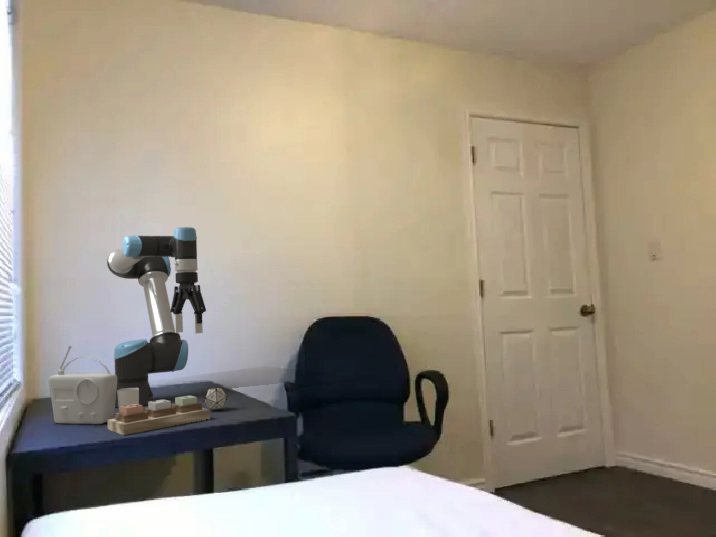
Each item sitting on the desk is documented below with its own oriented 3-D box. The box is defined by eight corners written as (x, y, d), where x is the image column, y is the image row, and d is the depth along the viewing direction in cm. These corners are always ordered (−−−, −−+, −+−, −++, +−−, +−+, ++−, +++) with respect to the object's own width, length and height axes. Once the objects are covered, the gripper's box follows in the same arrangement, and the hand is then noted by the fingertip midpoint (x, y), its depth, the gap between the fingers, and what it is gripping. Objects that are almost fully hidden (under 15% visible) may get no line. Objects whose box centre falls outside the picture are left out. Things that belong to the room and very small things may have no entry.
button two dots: (148, 409, 203) (148, 401, 203) (163, 407, 207) (163, 399, 207) (155, 411, 200) (155, 403, 200) (170, 409, 203) (170, 400, 203)
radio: (45, 424, 210) (43, 346, 210) (63, 419, 218) (61, 344, 218) (103, 426, 204) (101, 345, 205) (120, 420, 212) (118, 343, 213)
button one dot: (175, 405, 209) (175, 397, 209) (189, 403, 213) (189, 395, 213) (182, 407, 206) (182, 398, 206) (197, 404, 209) (196, 396, 209)
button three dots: (120, 414, 197) (119, 405, 197) (136, 411, 201) (135, 403, 201) (126, 416, 194) (126, 407, 194) (143, 413, 197) (142, 405, 197)
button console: (107, 429, 198) (107, 412, 198) (191, 414, 217) (191, 399, 217) (123, 435, 189) (123, 417, 189) (210, 419, 208) (209, 403, 208)
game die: (219, 422, 221) (220, 401, 216) (197, 413, 223) (197, 392, 217) (232, 404, 229) (233, 384, 223) (210, 396, 230) (211, 375, 225)
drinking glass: (115, 420, 211) (114, 389, 212) (136, 417, 215) (135, 387, 216) (121, 423, 206) (120, 391, 206) (142, 420, 210) (141, 389, 210)
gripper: (159, 273, 234) (161, 333, 234) (194, 270, 216) (197, 334, 216) (178, 273, 240) (180, 331, 239) (214, 269, 221) (217, 332, 221)
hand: (188, 333), depth 227 cm, fingers open, 13 cm apart
